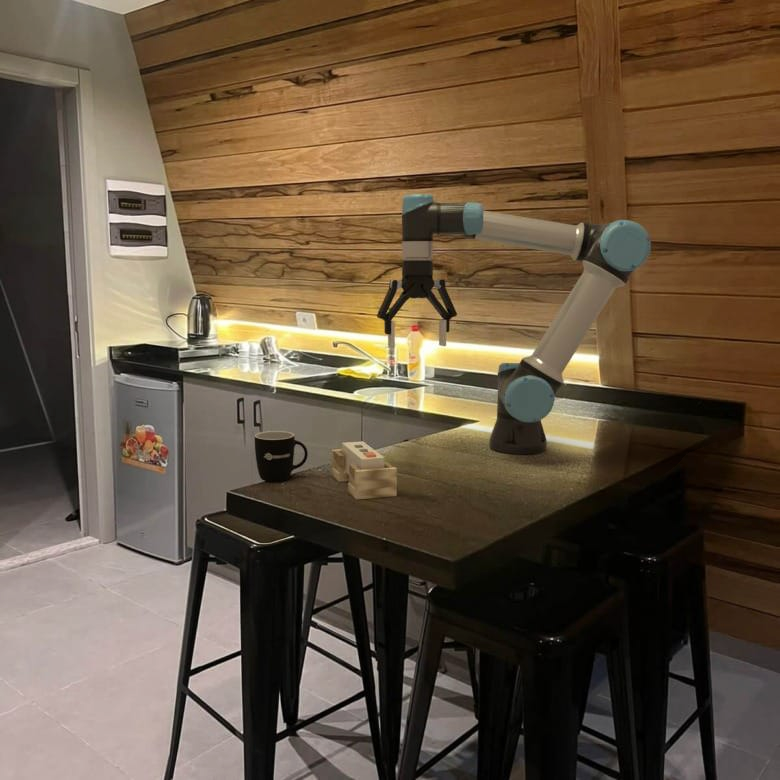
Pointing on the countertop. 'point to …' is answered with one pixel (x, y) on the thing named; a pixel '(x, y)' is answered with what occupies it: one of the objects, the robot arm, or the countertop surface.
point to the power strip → (361, 456)
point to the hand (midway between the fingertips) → (417, 346)
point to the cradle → (365, 478)
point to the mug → (276, 455)
